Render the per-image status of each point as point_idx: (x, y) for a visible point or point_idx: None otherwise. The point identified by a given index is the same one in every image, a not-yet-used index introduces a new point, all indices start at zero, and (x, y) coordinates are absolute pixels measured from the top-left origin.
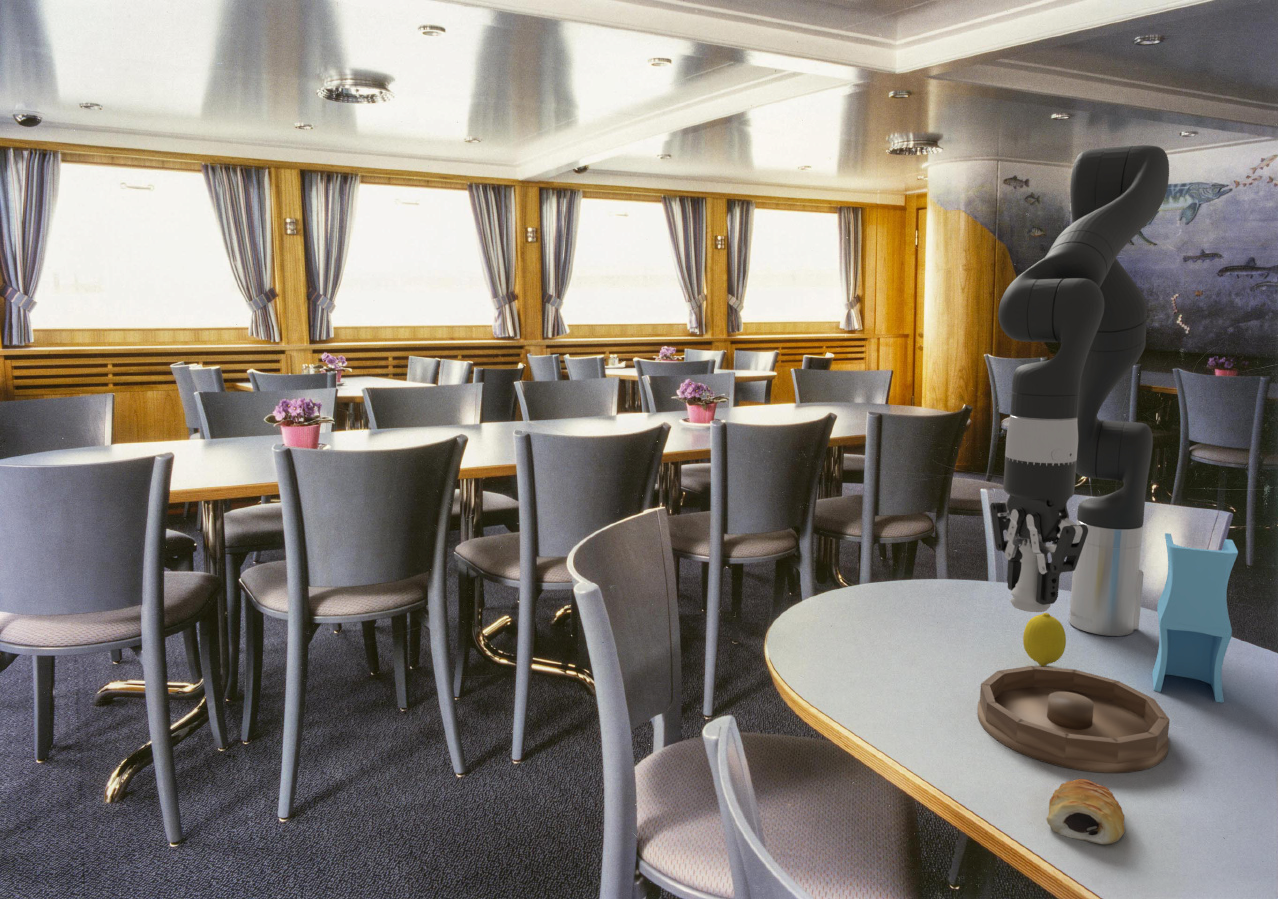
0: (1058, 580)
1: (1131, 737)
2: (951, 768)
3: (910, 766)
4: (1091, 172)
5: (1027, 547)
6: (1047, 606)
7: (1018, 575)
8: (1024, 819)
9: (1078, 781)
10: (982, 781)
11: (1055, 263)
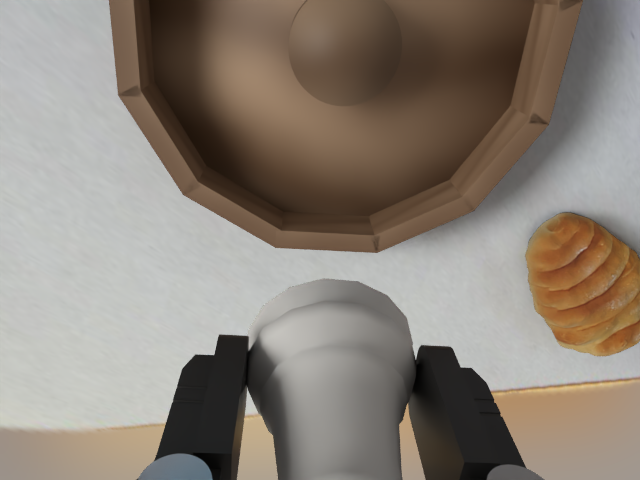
0: (517, 454)
1: (550, 73)
2: None
3: None
4: None
5: None
6: (405, 330)
7: (239, 431)
8: (524, 348)
9: (555, 269)
10: (421, 337)
11: None
